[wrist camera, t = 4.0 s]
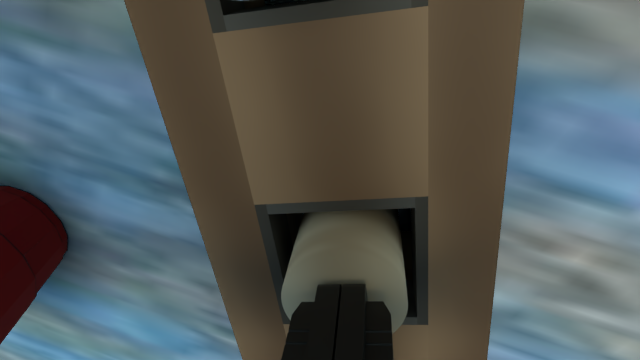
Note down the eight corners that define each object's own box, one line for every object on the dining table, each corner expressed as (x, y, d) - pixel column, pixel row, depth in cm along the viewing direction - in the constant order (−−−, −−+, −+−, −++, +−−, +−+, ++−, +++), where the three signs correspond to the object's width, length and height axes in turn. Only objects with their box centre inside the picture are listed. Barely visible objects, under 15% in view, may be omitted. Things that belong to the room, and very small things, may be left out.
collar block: (275, 274, 22) (245, 367, 17) (148, -265, 12) (-22, -441, 7) (456, 270, 21) (485, 373, 15) (484, -356, 11) (594, -678, 5)
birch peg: (313, 247, 18) (292, 346, 14) (300, 171, 16) (270, 255, 12) (399, 244, 18) (409, 347, 13) (396, 165, 16) (406, 251, 11)
